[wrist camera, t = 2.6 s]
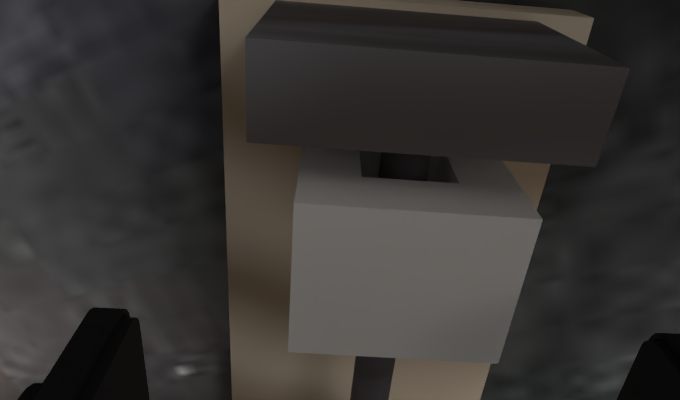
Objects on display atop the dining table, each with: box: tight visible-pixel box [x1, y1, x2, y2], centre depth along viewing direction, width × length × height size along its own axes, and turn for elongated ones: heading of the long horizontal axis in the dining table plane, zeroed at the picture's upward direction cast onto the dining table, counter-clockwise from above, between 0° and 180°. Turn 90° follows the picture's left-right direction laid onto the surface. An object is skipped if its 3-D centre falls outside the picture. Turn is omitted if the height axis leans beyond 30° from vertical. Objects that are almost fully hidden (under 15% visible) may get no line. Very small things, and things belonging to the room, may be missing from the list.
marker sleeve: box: [288, 147, 543, 364], centre depth 13 cm, size 4×5×5 cm
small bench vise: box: [219, 0, 631, 400], centre depth 17 cm, size 20×10×6 cm, turn 176°
